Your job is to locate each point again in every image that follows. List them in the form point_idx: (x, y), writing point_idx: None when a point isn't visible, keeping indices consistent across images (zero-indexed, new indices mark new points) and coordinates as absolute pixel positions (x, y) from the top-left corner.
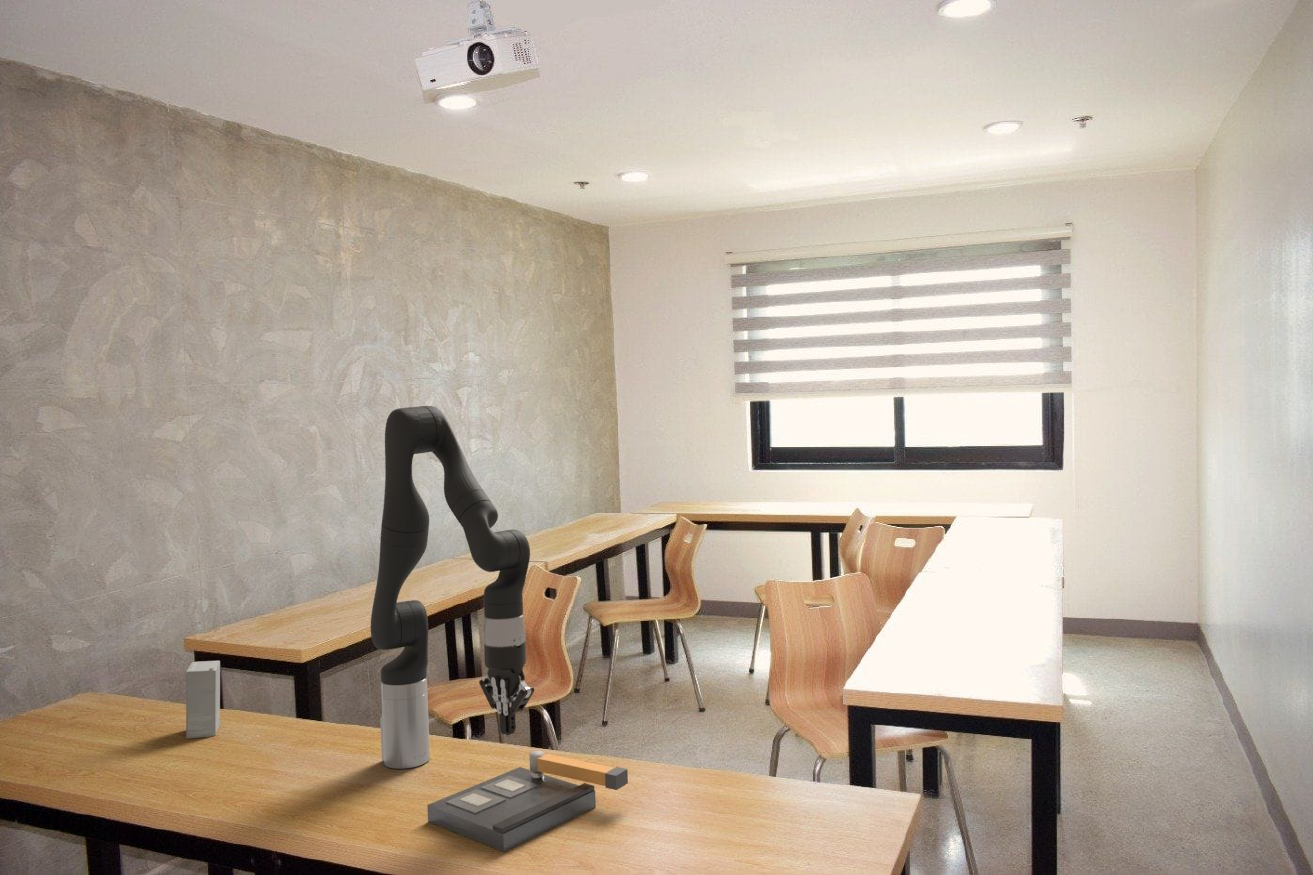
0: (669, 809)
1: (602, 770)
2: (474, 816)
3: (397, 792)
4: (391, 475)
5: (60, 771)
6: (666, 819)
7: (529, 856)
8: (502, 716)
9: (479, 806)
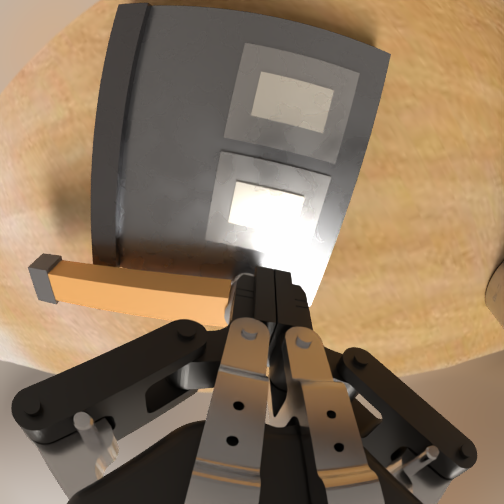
0: None
1: (61, 283)
2: (237, 32)
3: (491, 172)
4: None
5: None
6: (19, 247)
7: (89, 33)
8: (278, 317)
9: (259, 75)
